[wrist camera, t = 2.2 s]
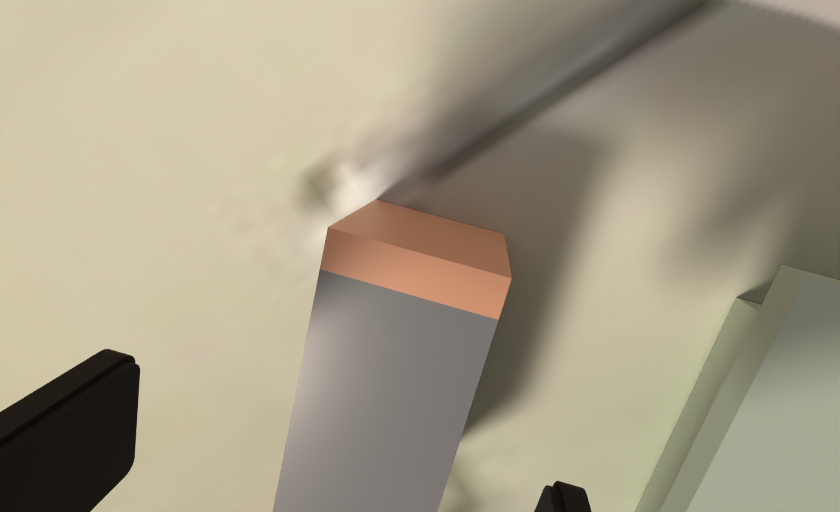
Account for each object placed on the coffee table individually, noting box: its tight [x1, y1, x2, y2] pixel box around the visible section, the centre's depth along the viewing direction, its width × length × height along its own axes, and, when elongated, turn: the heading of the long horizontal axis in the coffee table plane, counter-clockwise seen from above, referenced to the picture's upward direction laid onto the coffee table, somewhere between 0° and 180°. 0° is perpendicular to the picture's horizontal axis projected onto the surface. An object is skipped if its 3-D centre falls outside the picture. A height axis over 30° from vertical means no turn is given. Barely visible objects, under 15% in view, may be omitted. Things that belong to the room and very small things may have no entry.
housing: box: [273, 199, 512, 512], centre depth 16 cm, size 10×5×6 cm, turn 166°
